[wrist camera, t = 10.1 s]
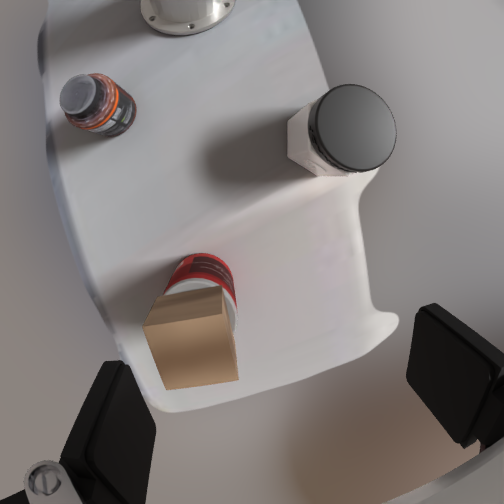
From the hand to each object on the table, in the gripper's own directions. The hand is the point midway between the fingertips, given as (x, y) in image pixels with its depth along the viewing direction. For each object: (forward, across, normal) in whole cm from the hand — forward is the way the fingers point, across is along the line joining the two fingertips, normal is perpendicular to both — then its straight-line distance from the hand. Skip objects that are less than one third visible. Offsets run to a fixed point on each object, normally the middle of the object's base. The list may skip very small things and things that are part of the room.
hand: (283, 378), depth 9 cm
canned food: (+29, +5, +7) cm, 30 cm away
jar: (+30, -11, -8) cm, 33 cm away
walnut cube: (+18, +5, +7) cm, 20 cm away
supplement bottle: (+30, +13, -16) cm, 36 cm away
